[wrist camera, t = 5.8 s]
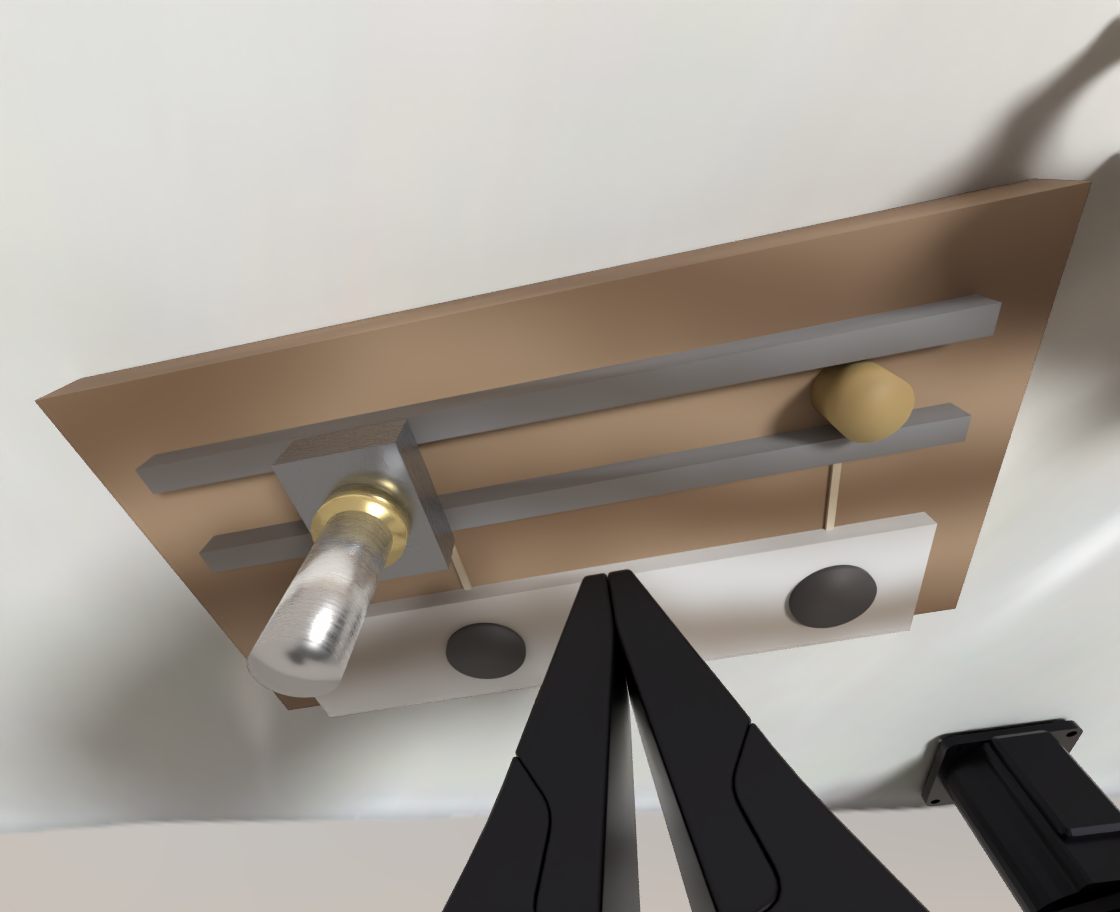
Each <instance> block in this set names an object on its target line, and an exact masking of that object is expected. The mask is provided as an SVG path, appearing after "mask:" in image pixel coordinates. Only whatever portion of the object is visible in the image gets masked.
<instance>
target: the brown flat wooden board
mask: <svg viewBox="0 0 1120 912" xmlns="http://www.w3.org/2000/svg"><path fill="white" fill-rule="evenodd" d="M1091 184H1092V181H1076V180H1054V179H1031V180H1026V181H1021V182H1017V183H1012V184H1007V185H1002V186H997V187H993V188H988V189H983V190H978V191H974V192H969V193H964V194H959V195H954V196H950V197H945V198H940V199H935V200H931V201H926V202H921V203H916V204H912V205H907V206H902V207H897V208H892V209H888V210H883V211H878V212H873V213H869V214H864V215H859V216H854V217H849V218H845V219H840V220H835V221H830V222H826V223H821V224H816V225H811V226H807V227H802V228H797V229H792V230H787V231H783V232H778V233H773V234H768V235H764V236H759V237H754V238H749V239H744V240H740V241H735V242H730V243H725V244H721V245H716V246H711V247H706V248H702V249H697V250H692V251H687V252H682V253H678V254H673V255H668V256H663V257H659V258H654V259H649V260H644V261H639V262H635V263H630V264H625V265H620V266H616V267H611V268H606V269H601V270H596V271H592V272H587V273H582V274H577V275H573V276H568V277H563V278H558V279H554V280H549V281H544V282H539V283H534V284H530V285H525V286H520V287H515V288H511V289H506V290H501V291H496V292H491V293H487V294H482V295H477V296H472V297H468V298H463V299H458V300H453V301H449V302H444V303H439V304H434V305H429V306H425V307H420V308H415V309H410V310H406V311H401V312H396V313H391V314H386V315H382V316H377V317H372V318H367V319H363V320H358V321H353V322H348V323H343V324H339V325H334V326H329V327H324V328H320V329H315V330H310V331H305V332H301V333H296V334H291V335H286V336H281V337H277V338H272V339H267V340H262V341H258V342H253V343H248V344H243V345H238V346H234V347H229V348H224V349H219V350H215V351H210V352H205V353H200V354H196V355H191V356H186V357H181V358H176V359H172V360H167V361H162V362H157V363H153V364H148V365H143V366H138V367H133V368H129V369H124V370H119V371H114V372H110V373H105V374H100V375H95V376H90V377H86V378H81V379H79V380H77V381H74V382H72V383H70V384H68V385H66V386H64V387H62V388H60V389H58V390H56V391H54V392H52V393H50V394H48V395H45V396H43V397H41V398H39V399H37V400H35V402H36V403H37V404H38V405H39V407H40V408H41V409H42V410H43V412H44V413H45V414H46V415H47V416H48V418H49V419H50V420H51V421H52V423H53V424H54V425H55V426H56V427H57V429H58V430H59V431H60V432H61V433H62V435H63V436H64V437H65V438H66V440H67V441H68V442H69V443H70V444H71V446H72V447H73V448H74V449H75V451H76V452H77V453H78V454H79V455H80V457H81V458H82V459H83V460H84V462H85V463H86V464H87V465H88V466H89V468H90V469H91V470H92V471H93V473H94V474H95V475H96V476H97V477H98V479H99V480H100V481H101V482H102V483H103V485H104V486H105V487H106V488H107V490H108V491H109V492H110V493H111V494H112V496H113V497H114V498H115V499H116V501H117V502H118V503H119V504H120V505H121V507H122V508H123V509H124V510H125V512H126V513H127V514H128V515H129V516H130V518H131V519H132V520H133V521H134V522H135V524H136V525H137V526H138V527H139V529H140V530H141V531H142V532H143V533H144V535H145V536H146V537H147V538H148V540H149V541H150V542H151V543H152V544H153V546H154V547H155V548H156V549H157V551H158V552H159V553H160V554H161V555H162V557H163V558H164V559H165V560H166V562H167V563H168V564H169V565H170V566H171V568H172V569H173V570H174V571H175V572H176V574H177V575H178V576H179V577H180V579H181V580H182V581H183V582H184V583H185V585H186V586H187V587H188V588H189V590H190V591H191V592H192V593H193V594H194V596H195V597H196V598H197V599H198V601H199V602H200V603H201V604H202V605H203V607H204V608H205V609H206V610H207V611H208V613H209V614H210V615H211V616H212V618H213V619H214V620H215V621H216V622H217V624H218V625H219V626H220V627H221V629H222V630H223V631H224V632H225V633H226V635H227V636H228V637H229V638H230V640H231V641H232V642H233V643H234V644H235V646H236V647H237V648H238V649H239V651H240V652H241V653H242V654H243V655H244V657H245V658H246V659H248V656H249V654H250V652H251V651H252V649H253V647H254V646H255V644H256V642H257V640H258V639H259V637H260V635H261V634H262V632H263V630H264V629H265V627H266V625H267V623H268V622H269V620H270V618H271V617H272V615H273V613H274V611H275V610H276V608H277V606H278V605H279V603H280V601H281V599H282V598H283V596H284V594H285V593H286V591H287V589H288V588H289V586H290V584H291V582H292V581H293V579H294V577H295V576H296V574H297V572H298V570H299V569H300V567H301V565H302V564H303V562H304V560H305V558H306V557H307V555H308V553H309V552H310V550H311V548H312V547H313V545H314V541H313V539H312V535H311V533H310V531H309V530H308V528H307V526H306V525H305V523H304V521H303V520H302V518H301V516H300V515H299V513H298V511H297V509H296V508H295V506H294V504H293V503H292V501H291V499H290V498H289V496H288V494H287V493H286V491H285V489H284V488H283V486H282V484H281V482H280V481H279V479H278V477H277V476H276V474H275V472H274V471H273V469H272V467H271V465H272V464H273V463H274V462H275V461H276V459H277V458H278V457H279V456H280V455H281V454H282V453H283V451H284V450H285V449H286V448H287V447H288V446H289V445H290V443H291V442H292V441H293V440H299V439H304V438H309V437H314V436H319V435H325V434H330V433H335V432H340V431H345V430H350V429H356V428H361V427H366V426H371V425H376V424H381V423H387V422H392V421H397V420H402V419H407V420H408V422H409V425H410V427H411V430H412V432H413V435H414V437H415V440H416V442H417V445H418V447H419V450H420V452H421V455H422V457H423V460H424V462H425V465H426V467H427V470H428V472H429V475H430V477H431V480H432V482H433V485H434V487H435V490H436V492H437V495H438V498H439V500H440V503H441V505H442V508H443V510H444V513H445V515H446V518H447V520H448V523H449V525H450V528H451V530H452V533H453V535H454V538H455V543H454V548H453V552H452V557H451V561H450V566H449V569H447V570H441V571H435V572H429V573H424V574H418V575H412V576H406V577H400V578H394V579H388V580H382V581H379V582H378V585H377V587H376V590H375V593H374V595H373V598H372V600H371V603H370V606H369V608H368V611H367V613H366V616H365V619H364V621H363V624H362V627H361V629H360V632H359V634H358V637H357V640H356V642H355V645H354V648H353V650H352V653H351V655H350V658H349V661H348V663H347V666H346V669H345V671H344V674H343V676H342V679H341V682H340V683H339V685H338V686H337V687H336V688H335V689H334V690H333V691H331V692H329V693H327V694H324V695H321V696H317V697H306V698H303V697H292V696H287V695H283V694H280V693H277V692H274V691H273V692H274V693H275V694H276V696H277V697H278V698H279V699H280V701H281V702H282V703H283V704H284V705H285V707H286V708H287V709H288V710H293V709H299V708H306V707H313V706H319V705H321V706H322V708H323V709H324V710H325V712H326V713H327V714H328V716H329V717H336V716H343V715H350V714H356V713H363V712H370V711H376V710H383V709H390V708H396V707H403V706H410V705H416V704H423V703H430V702H436V701H443V700H449V699H456V698H463V697H469V696H476V695H483V694H489V693H496V692H503V691H509V690H516V689H523V688H529V687H536V686H541V685H542V682H543V680H544V677H545V675H546V672H547V669H548V667H549V664H550V662H551V659H552V657H553V654H554V651H555V649H556V646H557V644H558V641H559V639H560V636H561V633H562V631H563V628H564V626H565V623H566V621H567V618H568V615H569V613H570V610H571V608H572V605H573V602H574V600H575V597H576V595H577V592H578V590H579V587H580V584H581V582H582V580H583V578H584V577H585V576H588V575H594V574H600V573H605V574H606V575H607V577H608V573H609V572H612V571H618V570H624V569H629V570H631V571H632V572H633V573H634V574H635V575H636V577H637V578H638V579H639V580H640V582H641V583H642V584H643V585H644V587H645V588H646V589H647V590H648V592H649V593H650V594H651V595H652V597H653V598H654V599H655V600H656V602H657V603H658V604H659V605H660V607H661V608H662V609H663V610H664V612H665V613H666V614H667V615H668V617H669V618H670V619H671V620H672V621H673V623H674V624H675V625H676V626H677V628H678V629H679V630H680V631H681V633H682V634H683V635H684V636H685V638H686V639H687V640H688V641H689V643H690V644H691V645H692V646H693V648H694V649H695V650H696V651H697V653H698V654H699V655H700V656H701V658H702V659H703V660H704V661H709V660H716V659H722V658H729V657H735V656H742V655H749V654H755V653H762V652H769V651H775V650H782V649H789V648H795V647H802V646H809V645H815V644H822V643H829V642H835V641H842V640H849V639H855V638H862V637H869V636H875V635H882V634H888V633H895V632H902V631H908V630H910V627H911V623H912V619H913V616H914V615H916V614H923V613H929V612H936V611H942V610H949V609H955V608H956V605H957V602H958V599H959V596H960V593H961V590H962V586H963V583H964V580H965V577H966V574H967V571H968V568H969V565H970V562H971V558H972V555H973V552H974V549H975V546H976V543H977V540H978V537H979V533H980V530H981V527H982V524H983V521H984V518H985V515H986V512H987V508H988V505H989V502H990V499H991V496H992V493H993V490H994V487H995V483H996V480H997V477H998V474H999V471H1000V468H1001V465H1002V462H1003V458H1004V455H1005V452H1006V449H1007V446H1008V443H1009V440H1010V437H1011V433H1012V430H1013V427H1014V424H1015V421H1016V418H1017V415H1018V412H1019V408H1020V405H1021V402H1022V399H1023V396H1024V393H1025V390H1026V387H1027V383H1028V380H1029V377H1030V374H1031V371H1032V368H1033V365H1034V362H1035V359H1036V355H1037V352H1038V349H1039V346H1040V343H1041V340H1042V337H1043V334H1044V330H1045V327H1046V324H1047V321H1048V318H1049V315H1050V312H1051V309H1052V305H1053V302H1054V299H1055V296H1056V293H1057V290H1058V287H1059V284H1060V280H1061V277H1062V274H1063V271H1064V268H1065V265H1066V262H1067V259H1068V255H1069V252H1070V249H1071V246H1072V243H1073V240H1074V237H1075V234H1076V230H1077V227H1078V224H1079V221H1080V218H1081V215H1082V212H1083V209H1084V205H1085V202H1086V199H1087V196H1088V193H1089V190H1090V187H1091Z"/></svg>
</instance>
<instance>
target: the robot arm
mask: <svg viewBox="0 0 1120 912" xmlns="http://www.w3.org/2000/svg"><path fill="white" fill-rule="evenodd" d="M626 682H627V683H626ZM627 687H628V689H627ZM628 691H629V696H630V701H631V705H632V708H633V712H634V716H635V719H636V723H637V726H638V729H639V733H640V736H641V740H642V743H643V746H644V750H645V753H646V757H647V760H648V763H649V767H650V770H651V774H652V777H653V780H654V784H655V787H656V791H657V794H658V797H659V801H660V804H661V808H662V811H663V814H664V818H665V821H666V825H667V828H668V831H669V835H670V838H671V842H672V845H673V848H674V852H675V855H676V859H677V862H678V865H679V869H680V872H681V876H682V879H683V882H684V886H685V889H686V893H687V896H688V899H689V903H690V906H691V910H692V912H930V911H929V910H927V908H926V907H925V906H924V905H922V903H921V902H920V901H919V900H918V899H917V898H916V897H915V896H914V895H913V894H912V893H911V892H910V891H909V890H908V889H907V888H906V887H905V886H904V885H903V884H902V883H901V882H900V881H899V880H898V879H897V878H896V877H895V876H894V875H893V874H892V873H891V872H890V871H889V870H888V869H887V868H886V867H885V866H884V865H883V864H882V863H881V862H880V861H879V860H878V859H877V858H876V857H875V856H874V855H873V854H872V853H871V851H869V850H868V849H867V847H866V846H865V845H864V844H863V843H862V842H861V841H860V840H859V839H858V838H857V837H856V836H855V835H854V834H853V833H852V832H851V831H850V830H849V829H848V828H847V827H846V826H845V825H844V824H843V823H842V822H841V821H840V820H839V819H838V818H837V817H836V816H835V815H834V814H833V813H832V812H831V811H830V809H829V808H828V807H827V806H826V805H825V804H824V803H823V802H822V801H821V800H820V799H819V798H818V797H817V796H816V795H815V794H814V792H813V791H812V790H811V789H810V788H809V787H808V786H807V785H806V784H805V783H804V782H803V781H802V780H801V779H800V777H799V776H798V775H797V774H796V773H795V771H794V770H793V769H792V768H791V767H790V766H789V764H788V763H787V762H786V761H785V760H784V759H783V757H782V756H781V755H780V754H779V753H778V751H777V750H776V749H775V748H774V747H773V746H772V744H771V743H770V742H769V741H768V739H767V738H766V737H765V736H764V734H763V733H762V732H761V731H760V729H759V728H758V727H757V726H756V725H755V724H754V723H752V724H751V719H750V717H749V716H748V715H747V714H746V712H745V711H744V710H743V709H742V707H741V706H740V705H739V704H738V702H737V701H736V700H735V699H734V697H733V696H732V695H731V694H730V692H729V691H728V690H727V689H726V687H725V686H724V685H723V684H722V682H721V681H720V680H719V679H718V678H717V676H716V675H715V674H714V673H713V671H712V670H711V669H710V668H709V666H708V665H707V664H706V663H705V661H704V660H703V659H702V658H701V656H700V655H699V654H698V653H697V651H696V650H695V649H694V648H693V646H692V645H691V644H690V643H689V641H688V640H687V639H686V638H685V636H684V635H683V634H682V633H681V631H680V630H679V629H678V628H677V626H676V625H675V624H674V623H673V621H672V620H671V619H670V618H669V617H668V615H667V614H666V613H665V612H664V610H663V609H662V608H661V607H660V605H659V604H658V603H657V602H656V600H655V599H654V598H653V597H652V595H651V594H650V593H649V592H648V590H647V589H646V588H645V587H644V585H643V584H642V583H641V582H640V580H639V579H638V578H637V577H636V575H635V574H634V573H633V572H632V571H631V570H629V569H624V570H618V571H612V572H609V573H608V577H607V575H606V574H605V573H600V574H594V575H588V576H585V577H584V578H583V580H582V582H581V584H580V587H579V590H578V592H577V595H576V597H575V600H574V602H573V605H572V608H571V610H570V613H569V615H568V618H567V621H566V623H565V626H564V628H563V631H562V633H561V636H560V639H559V641H558V644H557V646H556V649H555V651H554V654H553V657H552V659H551V662H550V664H549V667H548V669H547V672H546V675H545V677H544V680H543V682H542V685H541V687H540V690H539V693H538V695H537V698H536V700H535V703H534V705H533V708H532V711H531V713H530V716H529V718H528V721H527V723H526V726H525V729H524V731H523V734H522V736H521V739H520V742H519V744H518V747H517V749H516V752H515V753H516V756H517V757H514V758H513V759H512V761H511V764H510V767H509V769H508V772H507V774H506V777H505V780H504V782H503V785H502V787H501V789H500V792H499V794H498V796H497V799H496V801H495V804H494V806H493V808H492V811H491V813H490V815H489V818H488V820H487V822H486V825H485V827H484V829H483V831H482V833H481V835H480V837H479V839H478V841H477V843H476V845H475V847H474V849H473V851H472V853H471V856H470V858H469V860H468V862H467V864H466V866H465V868H464V870H463V872H462V874H461V876H460V878H459V880H458V881H457V883H456V885H455V887H454V889H453V891H452V893H451V895H450V897H449V899H448V901H447V903H446V905H445V907H444V909H443V911H442V912H640V900H639V899H640V898H639V881H638V880H639V879H638V858H637V839H636V819H635V800H634V780H633V761H632V741H631V722H630V707H629V696H628ZM1082 732H1083V730H1082V729H1081V728H1080V727H1079V726H1078V725H1077V724H1076V723H1075V722H1074V721H1061V722H1054V723H1046V724H1039V725H1032V726H1024V727H1017V728H1009V729H1002V730H994V731H987V732H980V733H972V734H965V735H957V736H951V737H948V738H946V739H944V740H943V741H942V742H941V744H940V747H939V749H938V752H937V755H936V757H935V760H934V763H933V765H932V768H931V771H930V773H929V776H928V779H927V781H926V784H925V787H924V789H923V792H922V795H921V797H922V798H923V800H924V802H925V803H926V805H928V806H937V805H945V804H953V803H954V804H955V805H956V807H957V808H958V810H959V812H960V813H961V815H962V816H963V818H964V819H965V821H966V822H967V824H968V826H969V827H970V829H971V830H972V832H973V833H974V835H975V837H976V838H977V840H978V841H979V843H980V844H981V846H982V848H983V849H984V851H985V852H986V854H987V855H988V857H989V859H990V860H991V862H992V863H993V865H994V866H995V868H996V870H997V871H998V873H999V874H1000V876H1001V877H1002V879H1003V881H1004V882H1005V884H1006V885H1007V887H1008V888H1009V890H1010V891H1011V893H1012V895H1013V896H1014V898H1015V899H1016V901H1017V902H1018V904H1019V906H1020V907H1021V909H1022V910H1023V912H1120V810H1119V809H1118V808H1117V807H1116V806H1115V805H1114V803H1113V802H1112V801H1111V800H1110V799H1109V798H1108V797H1107V796H1106V794H1105V793H1104V792H1103V791H1102V790H1101V789H1100V788H1099V786H1098V785H1097V784H1096V783H1095V782H1094V781H1093V780H1092V779H1091V777H1090V776H1089V775H1088V774H1087V773H1086V772H1085V771H1084V770H1083V768H1082V767H1081V766H1080V765H1079V764H1078V763H1077V762H1076V760H1075V759H1074V758H1073V757H1072V756H1071V755H1070V754H1069V753H1070V751H1071V750H1072V748H1073V747H1074V745H1075V743H1076V742H1077V740H1078V739H1079V737H1080V736H1081V734H1082Z"/></svg>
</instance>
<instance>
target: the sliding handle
mask: <svg viewBox="0 0 1120 912" xmlns="http://www.w3.org/2000/svg"><path fill="white" fill-rule="evenodd" d="M271 467H272V469H273V471H274V472H275V474H276V476H277V477H278V479H279V481H280V482H281V484H282V486H283V488H284V489H285V491H286V493H287V494H288V496H289V498H290V499H291V501H292V503H293V504H294V506H295V508H296V509H297V511H298V513H299V515H300V516H301V518H302V520H303V521H304V523H305V525H306V526H307V528H308V530H309V531H310V533H311V535H312V539H313V541H314V545H313V547H312V548H311V550H310V552H309V553H308V555H307V557H306V558H305V560H304V562H303V564H302V565H301V567H300V569H299V570H298V572H297V574H296V576H295V577H294V579H293V581H292V582H291V584H290V586H289V588H288V589H287V591H286V593H285V594H284V596H283V598H282V599H281V601H280V603H279V605H278V606H277V608H276V610H275V611H274V613H273V615H272V617H271V618H270V620H269V622H268V623H267V625H266V627H265V629H264V630H263V632H262V634H261V635H260V637H259V639H258V640H257V642H256V644H255V646H254V647H253V649H252V651H251V652H250V654H249V656H248V659H247V667H248V670H249V672H250V674H251V675H252V676H253V678H254V679H255V680H256V681H257V682H259V683H260V684H261V685H263V686H264V687H266V688H268V689H270V690H272V691H274V692H277V693H280V694H283V695H287V696H292V697H303V698H306V697H317V696H321V695H324V694H327V693H329V692H331V691H333V690H334V689H335V688H336V687H337V686H338V685H339V683H340V682H341V679H342V676H343V674H344V671H345V669H346V666H347V663H348V661H349V658H350V655H351V653H352V650H353V648H354V645H355V642H356V640H357V637H358V634H359V632H360V629H361V627H362V624H363V621H364V619H365V616H366V613H367V611H368V608H369V606H370V603H371V600H372V598H373V595H374V593H375V590H376V587H377V585H378V582H379V581H382V580H388V579H394V578H400V577H406V576H412V575H418V574H424V573H429V572H435V571H441V570H447V569H449V566H450V561H451V557H452V552H453V548H454V543H455V538H454V535H453V533H452V530H451V528H450V525H449V523H448V520H447V518H446V515H445V513H444V510H443V508H442V505H441V503H440V500H439V498H438V495H437V492H436V490H435V487H434V485H433V482H432V480H431V477H430V475H429V472H428V470H427V467H426V465H425V462H424V460H423V457H422V455H421V452H420V450H419V447H418V445H417V442H416V440H415V437H414V435H413V432H412V430H411V427H410V425H409V422H408V420H407V419H402V420H397V421H392V422H387V423H381V424H376V425H371V426H366V427H361V428H356V429H350V430H345V431H340V432H335V433H330V434H325V435H319V436H314V437H309V438H304V439H299V440H293V441H292V442H291V443H290V445H289V446H288V447H287V448H286V449H285V450H284V451H283V453H282V454H281V455H280V456H279V457H278V458H277V459H276V461H275V462H274V463H273V464H272V465H271Z"/></svg>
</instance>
